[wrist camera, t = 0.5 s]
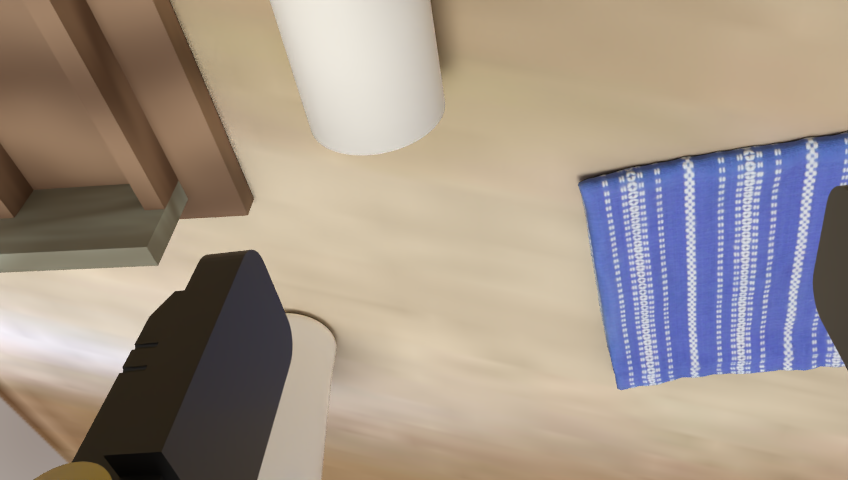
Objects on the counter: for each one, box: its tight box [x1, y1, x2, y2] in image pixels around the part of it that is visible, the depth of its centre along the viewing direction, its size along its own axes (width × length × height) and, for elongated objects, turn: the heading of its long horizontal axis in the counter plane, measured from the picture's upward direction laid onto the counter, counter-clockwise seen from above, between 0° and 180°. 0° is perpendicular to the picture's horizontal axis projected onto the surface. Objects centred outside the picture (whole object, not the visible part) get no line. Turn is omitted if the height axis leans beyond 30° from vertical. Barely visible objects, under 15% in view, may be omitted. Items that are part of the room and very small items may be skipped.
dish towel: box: [578, 132, 848, 390], centre depth 35 cm, size 17×24×3 cm
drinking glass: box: [257, 313, 336, 480], centre depth 39 cm, size 7×7×15 cm
